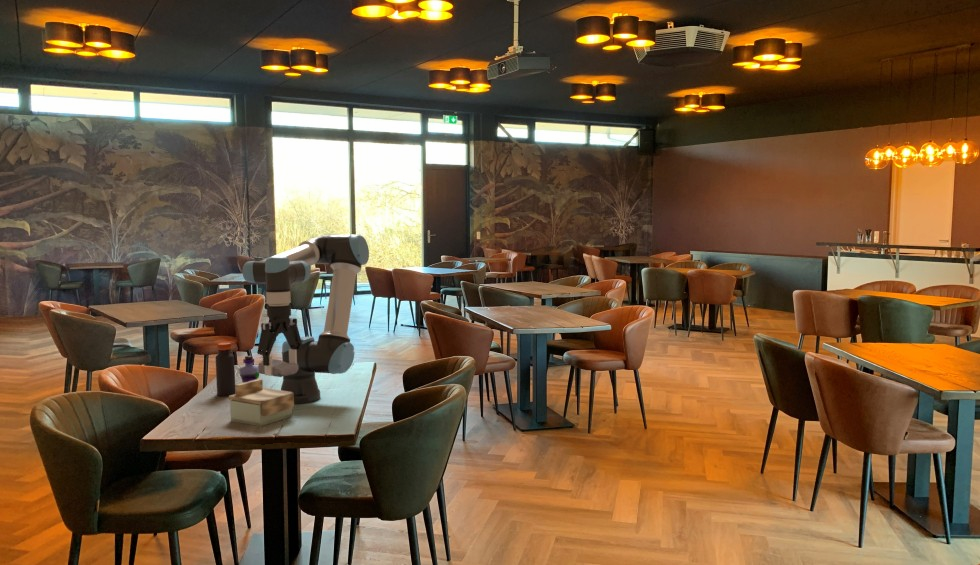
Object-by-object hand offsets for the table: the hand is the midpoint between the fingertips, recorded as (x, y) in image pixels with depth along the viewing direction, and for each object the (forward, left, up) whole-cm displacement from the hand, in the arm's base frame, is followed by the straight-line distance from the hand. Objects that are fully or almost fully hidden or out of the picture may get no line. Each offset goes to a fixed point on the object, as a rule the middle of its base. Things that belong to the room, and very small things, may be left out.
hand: (281, 372), depth 233 cm
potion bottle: (-37, -57, -18) cm, 70 cm away
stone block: (0, -1, -1) cm, 1 cm away
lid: (-3, -12, -14) cm, 19 cm away
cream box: (-3, -13, -18) cm, 22 cm away
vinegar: (-21, -52, -18) cm, 58 cm away
